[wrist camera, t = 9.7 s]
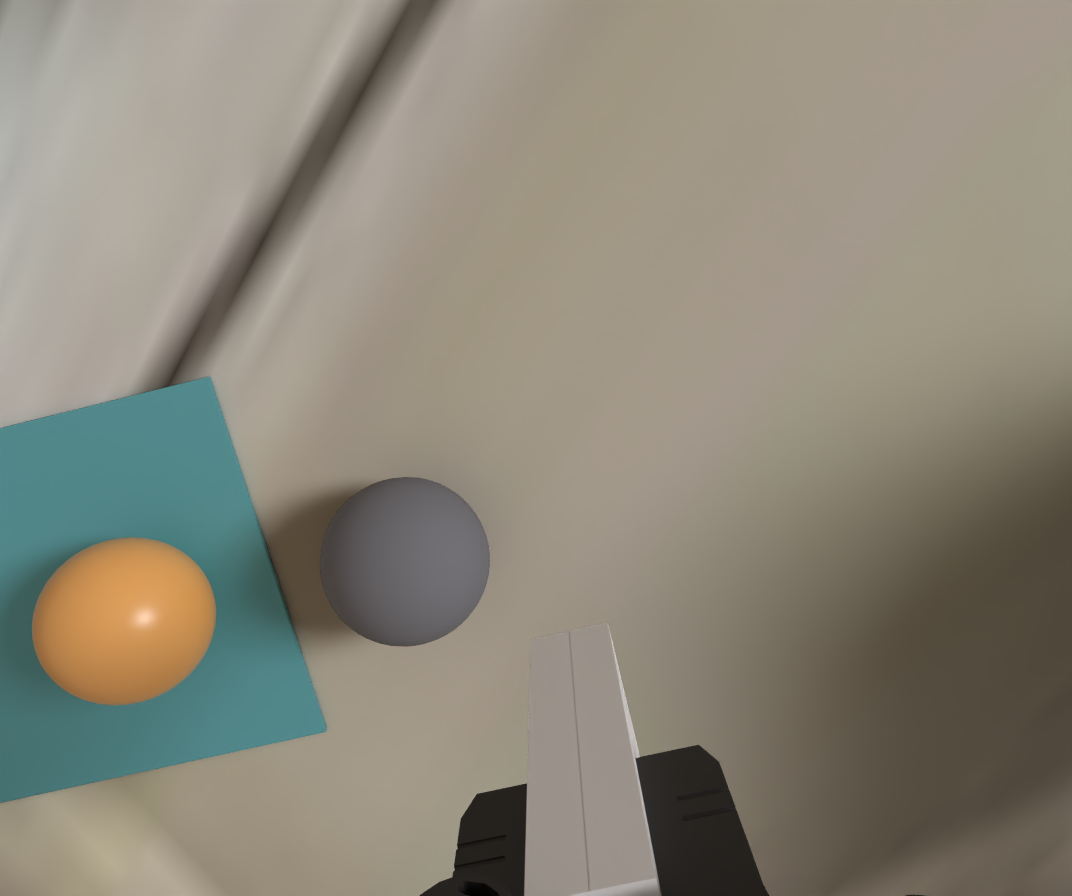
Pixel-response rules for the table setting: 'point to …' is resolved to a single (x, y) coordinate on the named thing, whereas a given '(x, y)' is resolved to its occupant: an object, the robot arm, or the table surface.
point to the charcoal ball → (404, 561)
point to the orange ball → (124, 621)
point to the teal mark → (160, 514)
